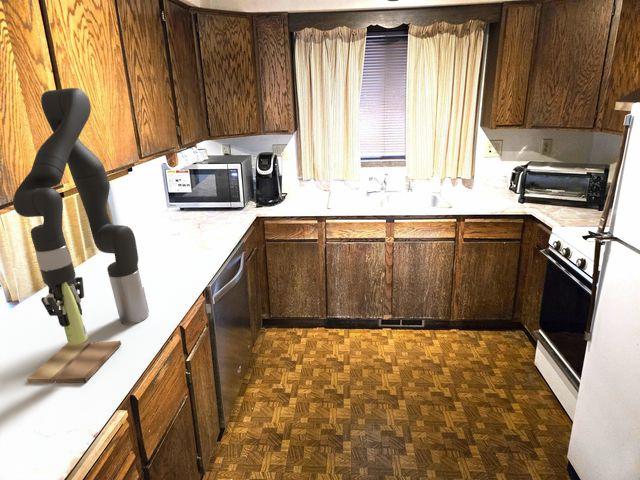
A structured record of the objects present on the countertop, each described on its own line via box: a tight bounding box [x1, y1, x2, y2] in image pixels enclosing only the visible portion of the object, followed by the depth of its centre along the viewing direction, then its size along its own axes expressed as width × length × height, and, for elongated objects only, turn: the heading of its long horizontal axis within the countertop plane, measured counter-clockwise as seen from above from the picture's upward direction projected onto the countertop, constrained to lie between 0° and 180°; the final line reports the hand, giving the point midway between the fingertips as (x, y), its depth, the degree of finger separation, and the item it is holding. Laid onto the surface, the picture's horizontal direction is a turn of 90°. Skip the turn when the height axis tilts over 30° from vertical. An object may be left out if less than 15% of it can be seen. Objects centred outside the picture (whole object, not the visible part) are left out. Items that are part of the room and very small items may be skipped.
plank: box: [54, 340, 122, 384], centre depth 128 cm, size 18×9×1 cm, turn 174°
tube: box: [58, 282, 88, 345], centre depth 120 cm, size 6×5×20 cm
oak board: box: [26, 341, 92, 384], centre depth 129 cm, size 18×8×1 cm, turn 174°
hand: (72, 320), depth 121 cm, fingers closed on tube, 5 cm apart
